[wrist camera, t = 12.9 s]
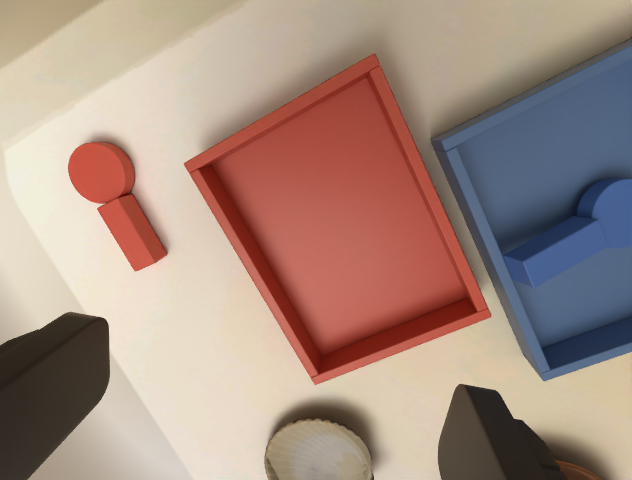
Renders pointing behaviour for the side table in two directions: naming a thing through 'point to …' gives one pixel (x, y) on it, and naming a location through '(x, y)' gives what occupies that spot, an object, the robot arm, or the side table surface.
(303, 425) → the seashell
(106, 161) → the red spoon
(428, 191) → the red tray
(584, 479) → the cup and saucer
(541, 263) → the blue spoon
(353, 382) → the side table surface
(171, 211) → the side table surface
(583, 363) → the blue tray
